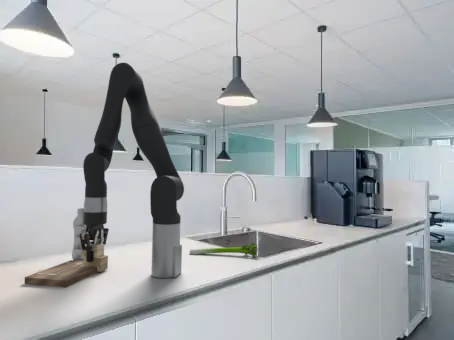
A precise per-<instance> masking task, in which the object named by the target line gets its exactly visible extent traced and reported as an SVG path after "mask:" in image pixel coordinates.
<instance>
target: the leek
mask: <svg viewBox="0 0 454 340" xmlns="http://www.w3.org/2000/svg"><path fill="white" fill-rule="evenodd" d="M258 246H259V244H257V243H255V242H252V243H250V244H247V245H245V244H244V245H243V246H239V247H236V246H235V247H211V248H210V247H209V248H190V250H189V255H191V256H192V255H195V256H197V255H204V254H207V255H208V254H224V253H230V254H231V253H232V254H233V253H234V254H244V255H246V256H247V255H248V254H249V255H251V256H252V258H255V256H257V253H258V251H259V248H258Z"/></svg>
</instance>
